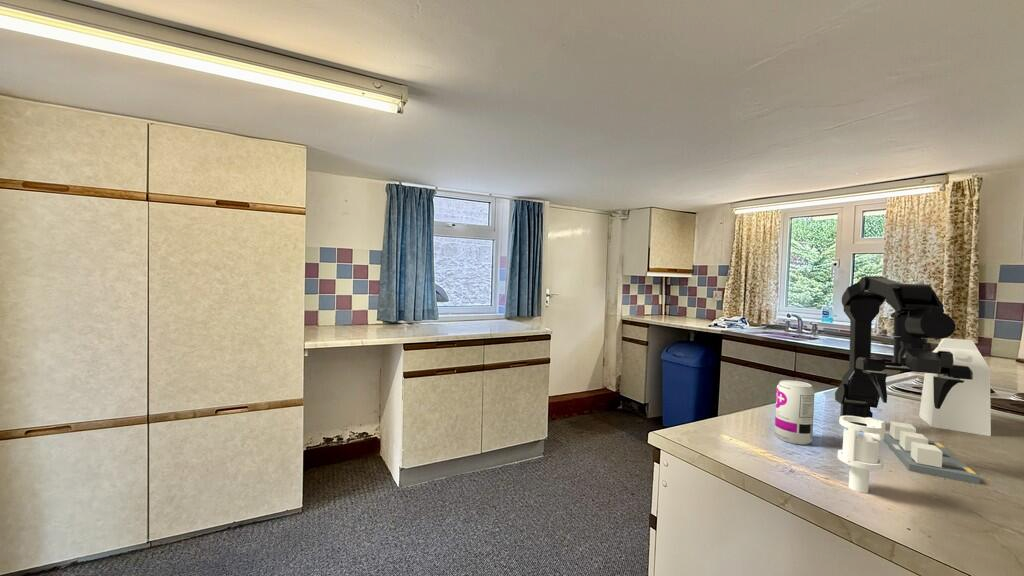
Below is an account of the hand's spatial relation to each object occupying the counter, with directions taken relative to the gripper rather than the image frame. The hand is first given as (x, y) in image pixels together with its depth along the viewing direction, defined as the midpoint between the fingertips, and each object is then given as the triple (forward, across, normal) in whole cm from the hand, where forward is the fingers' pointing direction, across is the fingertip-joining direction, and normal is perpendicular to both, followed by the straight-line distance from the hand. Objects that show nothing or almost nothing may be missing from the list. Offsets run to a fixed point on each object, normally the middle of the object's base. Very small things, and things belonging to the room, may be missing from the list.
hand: (910, 405), depth 94 cm
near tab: (+12, +3, +1) cm, 13 cm away
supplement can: (+13, -21, +7) cm, 26 cm away
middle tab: (+12, +4, +9) cm, 15 cm away
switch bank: (+13, +6, +8) cm, 17 cm away
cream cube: (+11, +4, +16) cm, 20 cm away
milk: (+10, +26, +44) cm, 51 cm away
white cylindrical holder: (+16, -14, -18) cm, 28 cm away
